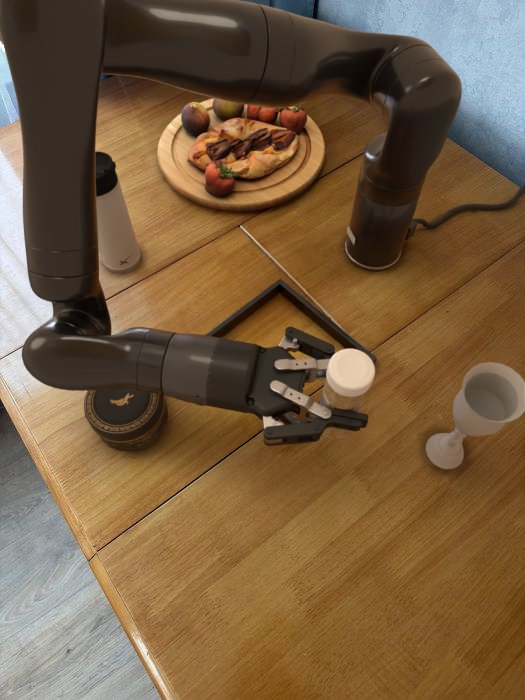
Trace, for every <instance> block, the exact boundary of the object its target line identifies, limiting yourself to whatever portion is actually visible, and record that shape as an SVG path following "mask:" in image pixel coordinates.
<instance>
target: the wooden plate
mask: <svg viewBox="0 0 525 700" xmlns="http://www.w3.org/2000/svg"><path fill="white" fill-rule="evenodd" d="M301 107H302V104H299V105H297V106H293V107H289V108H268V107H261V106H254V105H247V104H240V103H234V102H230V101H225V100H221V99H217V98H213V97H212V98H209V99H206V100H203V101H201V102H196V101H193V102H189V103H187V104H186V105H185V106H184V107H183V108H182V111H181V113H179V114H177V116H176V117H175V118H173V119H172V120H171V121H170V123H169V124H168V125H167V126H166V127H165V128H164V130H163V132H162V134H161V135H160V138H159V140H158V144H157V149H156V152H157V153H156V156H157V157H156V158H157V164H158V168H159V171H160V172H161V174H162V176H163V178H164V180H165V181H166V182H167V183H168V185H169V186H170V187H171V188H172V189H173V190H174V191H176V192H177V193H178V194H180V195H181V196H182V197H184V198H186V199H188V200H189V201H191V202H193V203H195V204H198V205H200V206H204V207H206V208H211V209H215V210H220V211H227V212H228V211H229V212H249V211H258V210H263V209H264V210H265V209H268V208H269V209H270V208H272V207H275V206H279V205H281V204H283V203H286V202H288V201H290V200H292V199H294V198H297V196H300V195H301V194H302V193H303V192H305V191H306V190H307V189H308V188H309V187H310V186H311V185H313V183H314V182H315V181H316V179H317V178H318V177H319V175H320V174H321V172H322V169H323V166H324V164H325V160H326V153H327V152H326V151H327V150H326V142H325V139H324V135H323V133H322V130H321V129H320V127H319V126H318V124H317V123H316V122H315V121H314V120H313V119H312V117H310V116H309V115H308V113H307V111H306V110H305V108H301Z"/></svg>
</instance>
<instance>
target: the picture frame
mask: <svg viewBox="0 0 525 700" xmlns="http://www.w3.org/2000/svg"><path fill="white" fill-rule="evenodd" d="M279 294H280V295H281V296H282V297H284V298H285V299H286V300H287V301H289V302H290V303H291V304H292V305H293V306H295V308H297V309H298V310H299V311H300V312H301V313H303V315H305V316H306V317H307V318H308V319H310V320H311V321H312V322H313V323H314V324H316V325H317V326H318V327H319V328H320V329H322V330H323V331H324V332H325V333H326V334H327V335H329V336H330V337H331V338H332V339H334V340H335V341H336V342H337V343H339V345H341V347H343V349H356V350H360V351H362V352H364V353H365V354H366V355H368V356H369V357H370V359H371V360H372V362H373V364H374V366H376V363H377V360H378V358H377V356H375V355H374V354H373V353H371V352H370V351H369V350H368V349H367V348H365V347H364V346H363V345H362V344H360V342H359V341H357V340H356V339H354V338H353V337H352V336H351V335H350V334H349V333H347V332H346V331H345V330H344V329H342V328H341V326H339V325H338V324H337V323H335V322H334V321H333V320H331V319H330V318H329V317H328V316H327V315H326V314H324V313H323V312H322V311H320V309H318V308H317V307H315V306H314V305H313V304H312V303H311V302H310V301H309V300H307V299H306V298H305V297H304V296H302V295H301V294H300V293H299V292H297V291H296V290H295V289H294V288H292V286H290V285H289V284H287V283H286V282H285V281H284V280H283V279H282V278H279V279H277V280H276V281H275V282H273V283H272V284H270V285H269V286H268V287H267V288H265V289H264V290H263V291H261V292H260V293H258V294H257V295H256V296H254V297H253V298H252V299H251V300H249V301H248V302H246V303H245V304H244V305H243V306H242V307H240V308H239V309H237V310H235V312H233V313H232V314H230V316H228V317H227V318H225V319H224V320H223V321H222V322H220V323H218V324H217V325H216V326H215V327H213V328H212V329H211V330H209V331H208V332H207V333H206V334H205V335H206V336H212V337H218V338H223V337H225V336H226V335H227V334H228V333H230V332H231V331H232V330H234V329H235V328H236V327H238V326H239V325H240V324H241V323H244V321H245V320H247V319H248V318H249V317H251V316H252V315H253V314H255V313H256V312H258V310H260V309H261V308H262V307H263V306H265V305H266V304H267V303H269V302H270V301H271V300H273V299H274V298H276V297H277V296H278V295H279ZM318 404H320V402H318ZM277 418H278V419H279V421H280V422H282V423H283V424H284V425H291V424H302V423H312V422H310V421H308V420H302V419H300V420H299V421H298V420H297V418H295V416H294V415H292V414H290V413H286V414H283V415H281V416H279V417H277Z"/></svg>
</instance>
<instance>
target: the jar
mask: <svg viewBox="0 0 525 700" xmlns="http://www.w3.org/2000/svg"><path fill="white" fill-rule="evenodd" d="M83 410H84V415H85V418H86V420H87V422H88V424H89V426H90V427H91V429H92V430H93V432H94V433H95V434H96V435H97V436H98V437H99V438H100V440H101V441H102V442H103V443H104V444H105V445H106V446H108V447H109V448H111V449H113V450H115V451H119V452H123V453H138V452H141V451H144V450H146V449H148V448H150V447H152V446H153V445H154V444H155V443H157V441H158V440H160V438H161V437H162V436H163V434H164V432H165V430H166V427H167V424H168V419H169V410H168V405H167V402H166V399H165V395H159V394H154V393H149V392H143V391H138V390H134V389H115V390H91V391H86V393H85V396H84V400H83Z"/></svg>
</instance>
